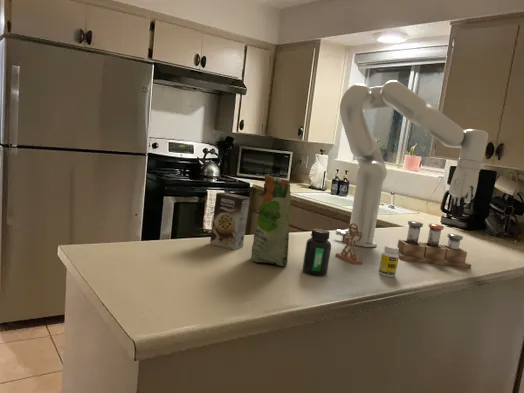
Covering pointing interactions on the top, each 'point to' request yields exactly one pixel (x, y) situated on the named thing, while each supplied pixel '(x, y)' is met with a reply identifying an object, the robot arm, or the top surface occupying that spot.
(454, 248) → the plug
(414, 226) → the plug
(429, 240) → the plug mid
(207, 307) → the top surface
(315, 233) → the supplement bottle
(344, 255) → the tan toy soldier
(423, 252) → the socket board
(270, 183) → the pouch
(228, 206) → the coffee box
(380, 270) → the supplement bottle
